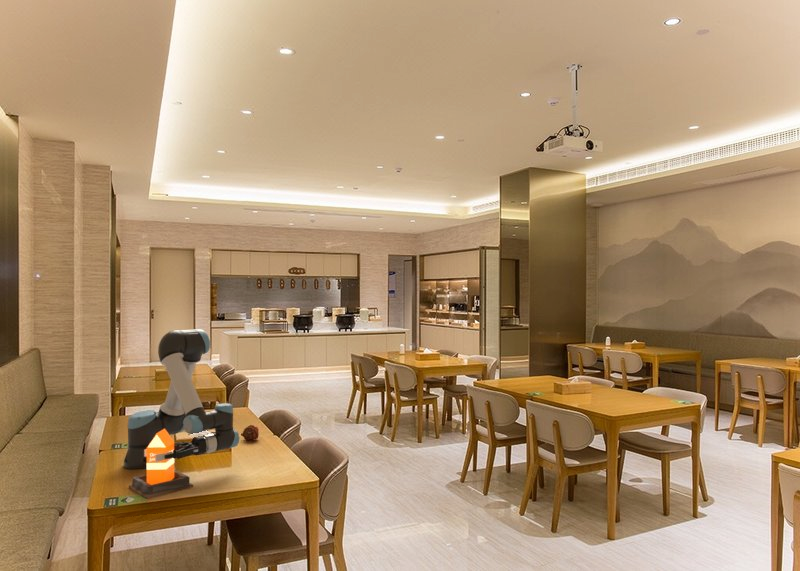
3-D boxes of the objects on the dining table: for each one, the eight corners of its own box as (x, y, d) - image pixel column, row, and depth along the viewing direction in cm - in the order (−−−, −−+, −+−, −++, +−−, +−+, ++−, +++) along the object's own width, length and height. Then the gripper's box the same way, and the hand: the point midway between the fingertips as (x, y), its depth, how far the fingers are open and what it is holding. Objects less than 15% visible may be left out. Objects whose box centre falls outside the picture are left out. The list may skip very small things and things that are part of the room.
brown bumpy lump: (252, 446, 296) (247, 444, 306) (265, 434, 300) (259, 433, 310) (241, 433, 294) (237, 432, 305) (254, 422, 298) (249, 421, 309)
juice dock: (128, 487, 228) (128, 477, 228) (173, 477, 241) (173, 467, 241) (147, 498, 215) (147, 488, 216) (192, 486, 228) (192, 476, 228)
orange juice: (146, 485, 224) (146, 433, 224) (155, 477, 233) (155, 428, 233) (166, 484, 224) (166, 433, 224) (174, 477, 233) (174, 428, 233)
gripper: (216, 458, 233) (162, 471, 217) (190, 448, 249) (138, 459, 233) (216, 440, 234) (162, 451, 218) (190, 431, 249) (138, 441, 233)
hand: (149, 455), depth 225 cm, fingers closed on orange juice, 10 cm apart
